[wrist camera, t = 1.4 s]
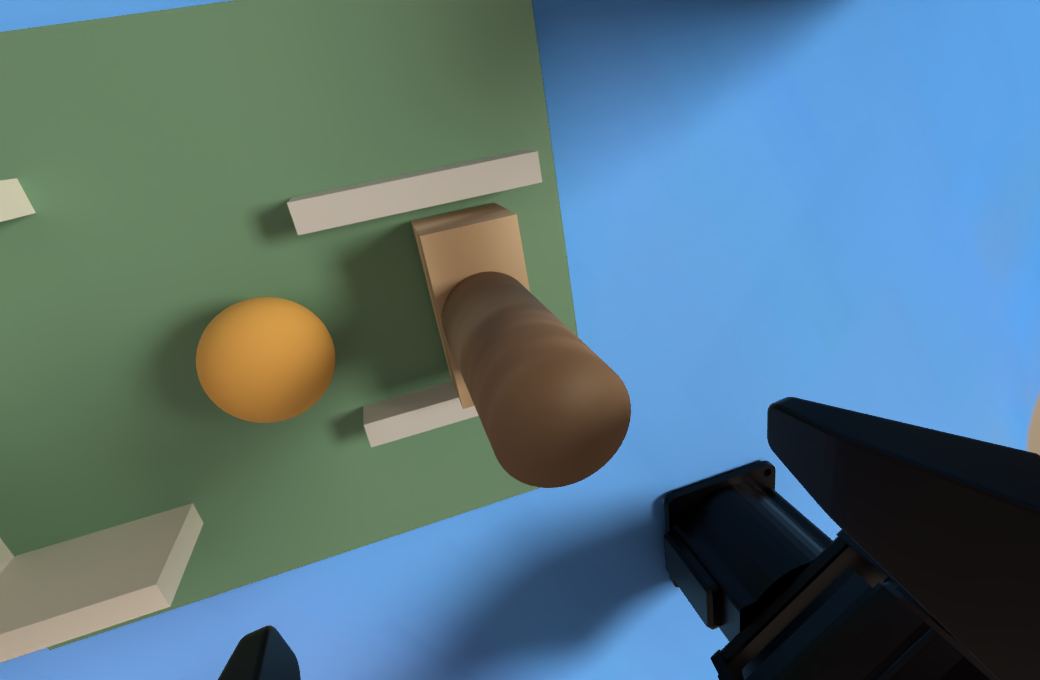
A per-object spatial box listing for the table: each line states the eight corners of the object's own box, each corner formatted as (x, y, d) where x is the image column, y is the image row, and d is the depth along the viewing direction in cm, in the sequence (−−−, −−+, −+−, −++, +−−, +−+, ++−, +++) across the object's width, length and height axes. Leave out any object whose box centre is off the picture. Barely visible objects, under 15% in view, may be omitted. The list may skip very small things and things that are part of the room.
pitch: (517, -31, 18) (541, -54, 15) (587, 457, 26) (609, 488, 23) (-351, 89, 13) (-493, 80, 11) (62, 628, 21) (27, 686, 19)
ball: (317, 270, 18) (306, 304, 15) (351, 371, 20) (350, 424, 16) (194, 298, 17) (151, 341, 14) (240, 401, 19) (212, 464, 16)
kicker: (494, 202, 19) (617, 267, 10) (522, 352, 21) (641, 514, 12) (410, 220, 18) (459, 307, 9) (449, 373, 21) (518, 558, 12)
